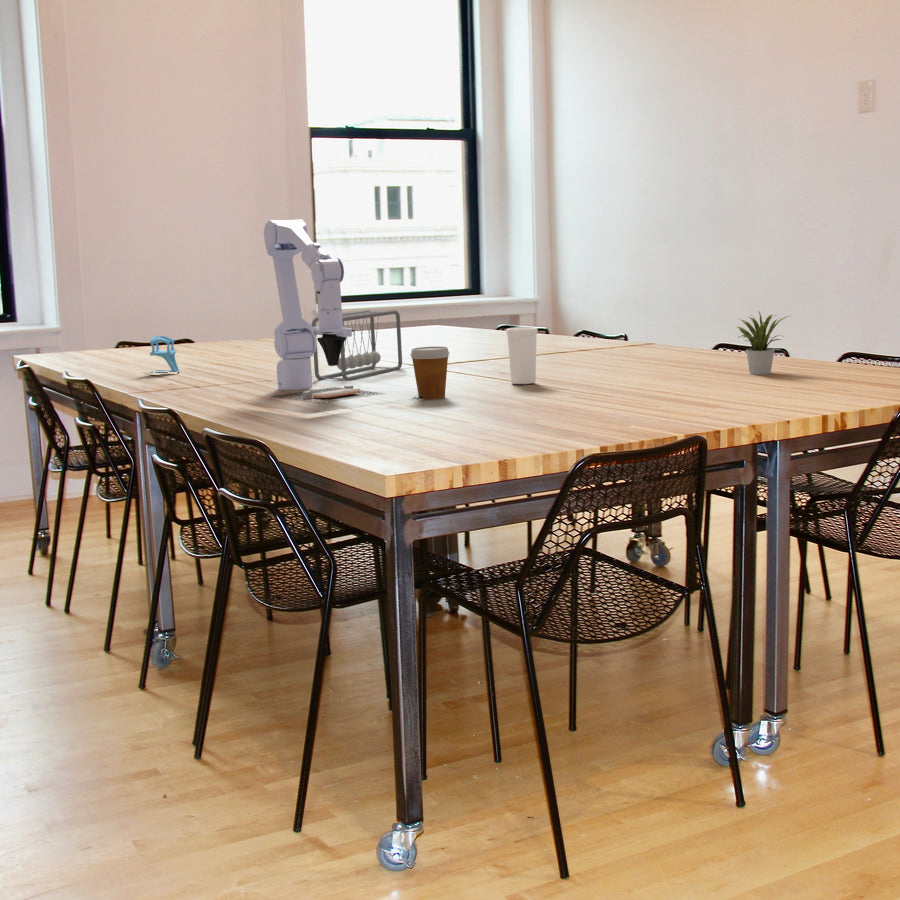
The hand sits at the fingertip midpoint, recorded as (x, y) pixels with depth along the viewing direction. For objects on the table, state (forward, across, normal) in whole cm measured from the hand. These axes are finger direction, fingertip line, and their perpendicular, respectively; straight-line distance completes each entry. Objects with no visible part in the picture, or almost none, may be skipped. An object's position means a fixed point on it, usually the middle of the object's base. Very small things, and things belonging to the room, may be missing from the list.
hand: (333, 365), depth 270 cm
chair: (+9, -95, +2) cm, 96 cm away
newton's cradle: (+9, -37, +34) cm, 51 cm away
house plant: (+8, +59, +94) cm, 111 cm away
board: (+8, -2, -1) cm, 9 cm away
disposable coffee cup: (+9, +18, +16) cm, 26 cm away
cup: (+9, +19, +46) cm, 50 cm away
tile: (+7, -1, -1) cm, 7 cm away
